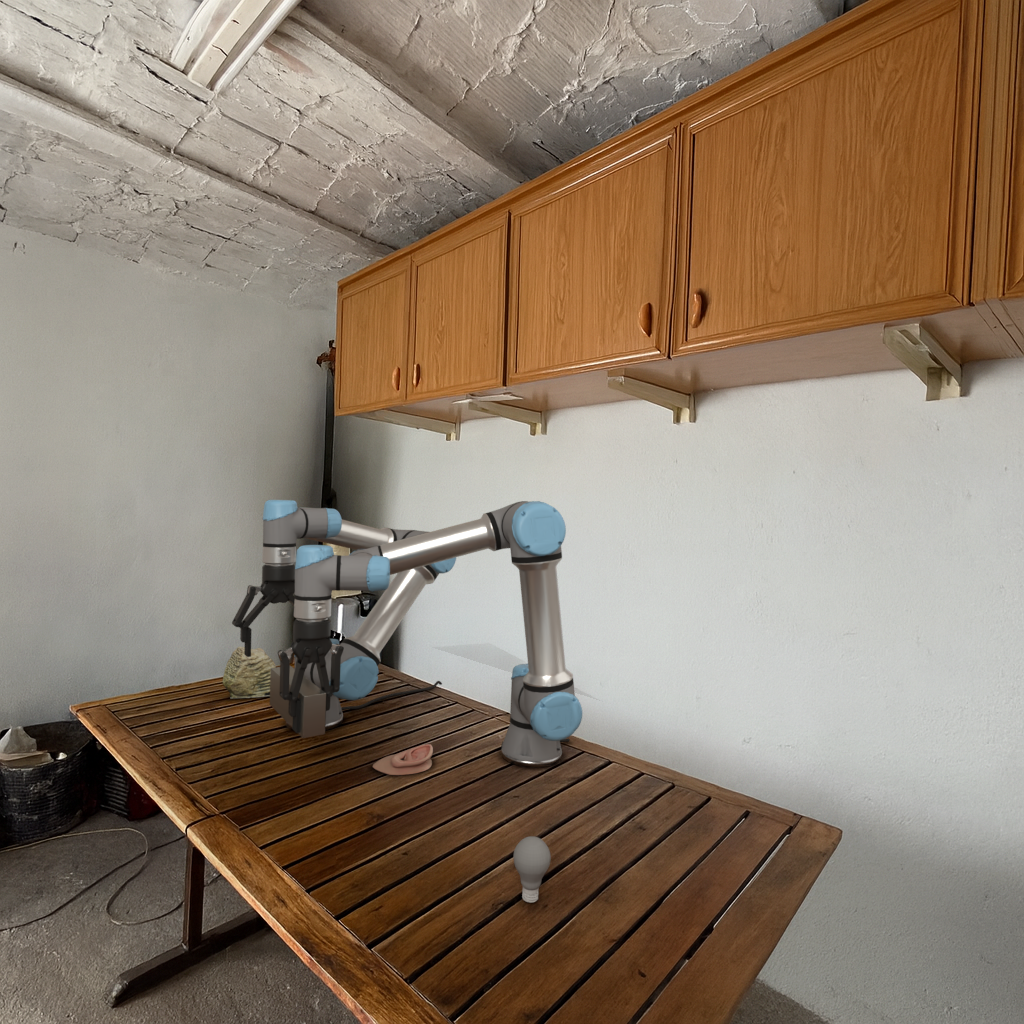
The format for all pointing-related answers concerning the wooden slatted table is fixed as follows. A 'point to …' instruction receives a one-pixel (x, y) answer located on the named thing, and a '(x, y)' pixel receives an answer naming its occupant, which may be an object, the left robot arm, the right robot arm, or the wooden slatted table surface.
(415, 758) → the anatomical model
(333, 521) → the left robot arm
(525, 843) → the light bulb
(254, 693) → the fossil
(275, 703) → the bar
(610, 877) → the wooden slatted table surface
